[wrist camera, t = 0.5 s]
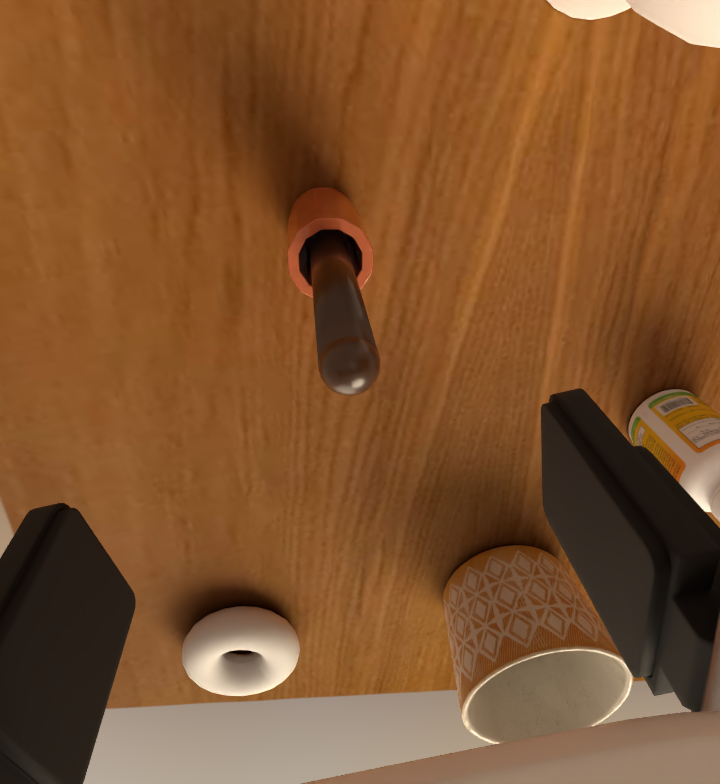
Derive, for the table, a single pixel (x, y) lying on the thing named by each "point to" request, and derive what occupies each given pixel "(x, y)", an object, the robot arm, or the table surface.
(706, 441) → the supplement bottle
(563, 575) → the planter
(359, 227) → the holder
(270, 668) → the donut
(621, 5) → the cup
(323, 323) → the stick
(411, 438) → the table surface
